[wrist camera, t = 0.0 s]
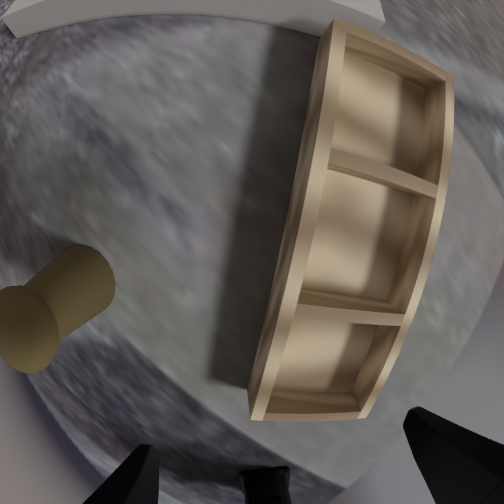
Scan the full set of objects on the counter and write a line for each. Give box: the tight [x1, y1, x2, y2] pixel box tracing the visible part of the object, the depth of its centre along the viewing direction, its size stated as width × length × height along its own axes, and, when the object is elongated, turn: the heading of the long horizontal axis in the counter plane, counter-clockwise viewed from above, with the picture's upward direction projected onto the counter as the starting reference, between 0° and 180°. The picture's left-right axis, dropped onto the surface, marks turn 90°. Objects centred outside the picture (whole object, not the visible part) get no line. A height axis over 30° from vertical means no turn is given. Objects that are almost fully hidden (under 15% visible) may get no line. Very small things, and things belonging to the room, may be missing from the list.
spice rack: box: [247, 18, 454, 421], centre depth 19 cm, size 31×11×4 cm, turn 169°
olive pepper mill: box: [0, 245, 115, 373], centre depth 15 cm, size 6×6×11 cm
